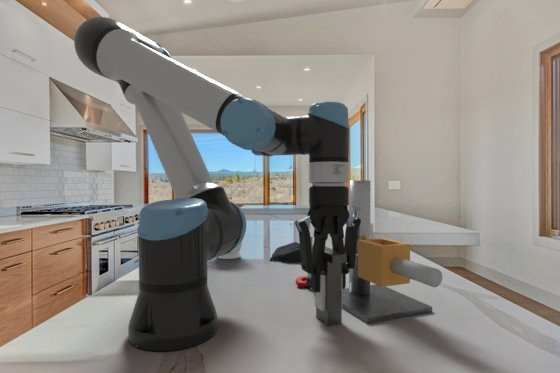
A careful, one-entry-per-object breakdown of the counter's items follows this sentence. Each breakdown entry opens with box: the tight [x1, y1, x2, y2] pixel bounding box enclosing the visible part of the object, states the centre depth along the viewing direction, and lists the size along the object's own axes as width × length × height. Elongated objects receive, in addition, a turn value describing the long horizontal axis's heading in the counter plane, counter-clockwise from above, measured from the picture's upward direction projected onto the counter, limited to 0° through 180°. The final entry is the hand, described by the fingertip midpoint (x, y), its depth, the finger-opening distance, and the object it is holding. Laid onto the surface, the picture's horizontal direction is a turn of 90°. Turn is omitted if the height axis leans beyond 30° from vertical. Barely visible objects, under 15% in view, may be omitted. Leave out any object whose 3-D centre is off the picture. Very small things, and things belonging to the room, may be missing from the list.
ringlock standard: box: [342, 179, 433, 324], centre depth 76 cm, size 16×19×27 cm
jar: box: [216, 240, 243, 260], centre depth 122 cm, size 11×10×15 cm
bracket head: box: [358, 237, 443, 288], centre depth 68 cm, size 7×18×8 cm, turn 22°
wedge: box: [312, 246, 347, 327], centre depth 66 cm, size 3×8×14 cm, turn 22°
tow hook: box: [295, 236, 314, 289], centre depth 91 cm, size 8×13×9 cm
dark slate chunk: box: [269, 241, 301, 264], centre depth 125 cm, size 15×22×5 cm
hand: (328, 306), depth 66 cm, fingers closed on wedge, 3 cm apart
